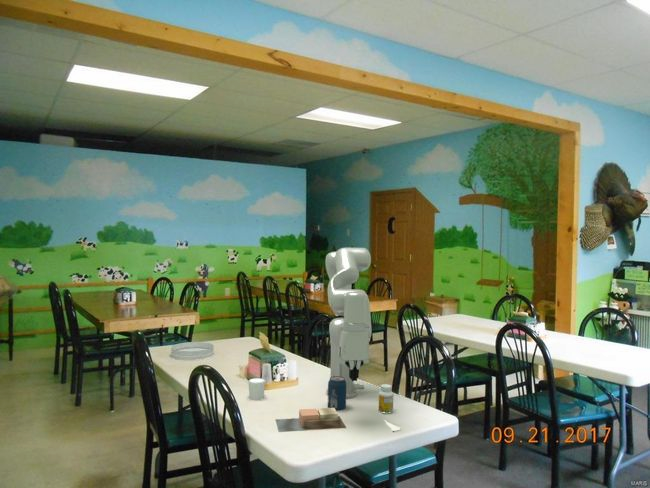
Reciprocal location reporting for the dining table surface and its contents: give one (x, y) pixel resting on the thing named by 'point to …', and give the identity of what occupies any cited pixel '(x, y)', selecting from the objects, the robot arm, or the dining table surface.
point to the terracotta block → (307, 415)
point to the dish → (192, 350)
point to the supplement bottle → (386, 399)
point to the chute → (308, 424)
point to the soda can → (337, 393)
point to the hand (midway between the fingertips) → (353, 380)
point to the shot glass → (256, 388)
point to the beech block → (327, 413)
